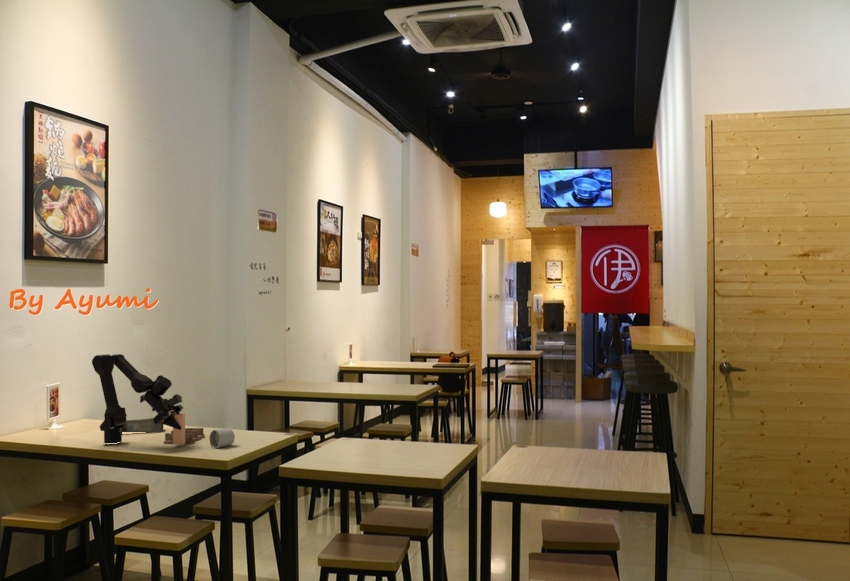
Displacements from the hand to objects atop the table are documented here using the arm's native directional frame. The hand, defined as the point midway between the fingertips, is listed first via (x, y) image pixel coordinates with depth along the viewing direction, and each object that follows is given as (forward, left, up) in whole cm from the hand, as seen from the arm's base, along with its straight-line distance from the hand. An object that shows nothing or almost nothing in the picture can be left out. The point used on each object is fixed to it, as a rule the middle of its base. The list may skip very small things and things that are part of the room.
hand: (182, 428), depth 294 cm
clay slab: (-1, +1, -7) cm, 7 cm away
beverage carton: (-19, +44, -8) cm, 49 cm away
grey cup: (+15, -6, -8) cm, 18 cm away
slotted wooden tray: (+1, +15, -8) cm, 16 cm away
